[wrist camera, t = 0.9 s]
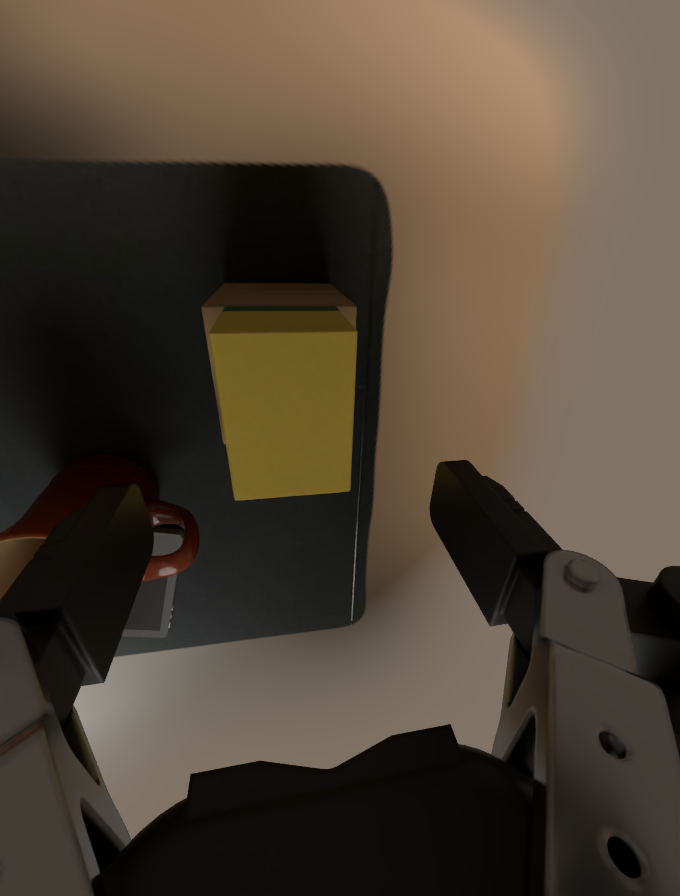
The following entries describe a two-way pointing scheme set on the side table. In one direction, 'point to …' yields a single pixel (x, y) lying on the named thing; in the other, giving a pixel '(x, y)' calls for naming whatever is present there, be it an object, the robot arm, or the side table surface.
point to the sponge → (286, 398)
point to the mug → (74, 489)
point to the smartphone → (155, 592)
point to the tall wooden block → (271, 297)
